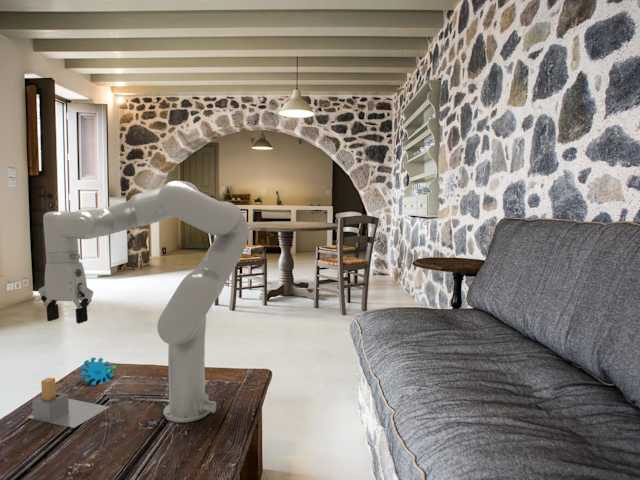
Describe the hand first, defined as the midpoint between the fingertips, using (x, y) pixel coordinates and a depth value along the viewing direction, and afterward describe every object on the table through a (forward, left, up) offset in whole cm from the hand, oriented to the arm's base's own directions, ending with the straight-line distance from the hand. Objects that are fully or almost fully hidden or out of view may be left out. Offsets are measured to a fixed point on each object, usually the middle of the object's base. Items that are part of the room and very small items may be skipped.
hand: (67, 321), depth 120 cm
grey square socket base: (-1, +1, -26) cm, 26 cm away
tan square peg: (+2, +5, -25) cm, 25 cm away
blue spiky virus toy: (+8, -18, -26) cm, 33 cm away
